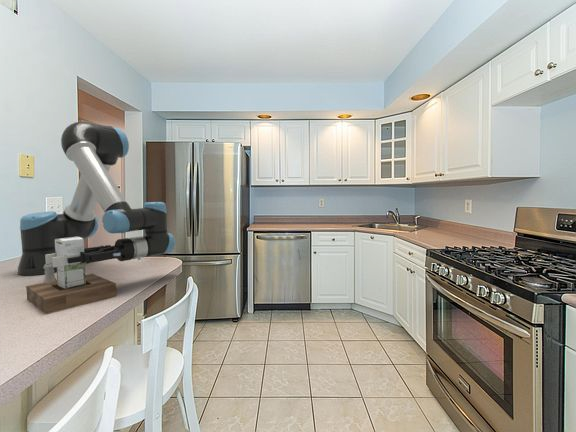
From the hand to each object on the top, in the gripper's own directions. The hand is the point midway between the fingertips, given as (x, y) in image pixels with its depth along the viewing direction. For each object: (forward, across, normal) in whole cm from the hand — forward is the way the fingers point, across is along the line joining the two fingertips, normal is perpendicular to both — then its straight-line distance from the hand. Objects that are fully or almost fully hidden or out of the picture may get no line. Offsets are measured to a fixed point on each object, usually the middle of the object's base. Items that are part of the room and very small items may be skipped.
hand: (49, 260), depth 93 cm
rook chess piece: (-4, +17, -12) cm, 22 cm away
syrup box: (-5, 0, -9) cm, 10 cm away
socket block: (-5, 0, -12) cm, 13 cm away
